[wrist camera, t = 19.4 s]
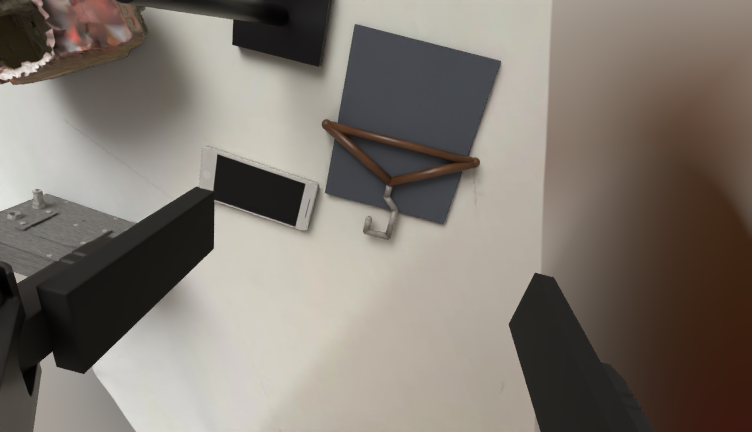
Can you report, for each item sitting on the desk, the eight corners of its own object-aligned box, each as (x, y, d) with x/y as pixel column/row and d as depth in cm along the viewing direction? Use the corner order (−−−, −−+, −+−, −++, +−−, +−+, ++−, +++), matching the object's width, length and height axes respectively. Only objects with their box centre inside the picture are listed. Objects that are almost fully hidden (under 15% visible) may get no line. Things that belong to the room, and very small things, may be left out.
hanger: (482, 160, 42) (446, 256, 48) (480, 157, 43) (445, 252, 49) (321, 119, 42) (305, 220, 48) (324, 117, 43) (308, 216, 49)
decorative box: (-12, -42, 40) (-132, -67, 32) (147, -75, 37) (62, -112, 29) (45, 82, 46) (-43, 90, 37) (188, 63, 43) (128, 67, 34)
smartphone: (205, 145, 47) (201, 147, 46) (319, 183, 47) (317, 186, 46) (201, 193, 50) (197, 196, 49) (307, 229, 50) (305, 232, 49)
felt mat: (500, 60, 39) (501, 61, 38) (443, 222, 47) (443, 224, 47) (355, 24, 39) (354, 24, 38) (326, 191, 48) (324, 193, 47)
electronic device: (48, 216, 55) (-134, 299, 37) (44, 177, 52) (-156, 245, 34) (159, 253, 55) (32, 352, 37) (161, 216, 52) (24, 304, 34)
